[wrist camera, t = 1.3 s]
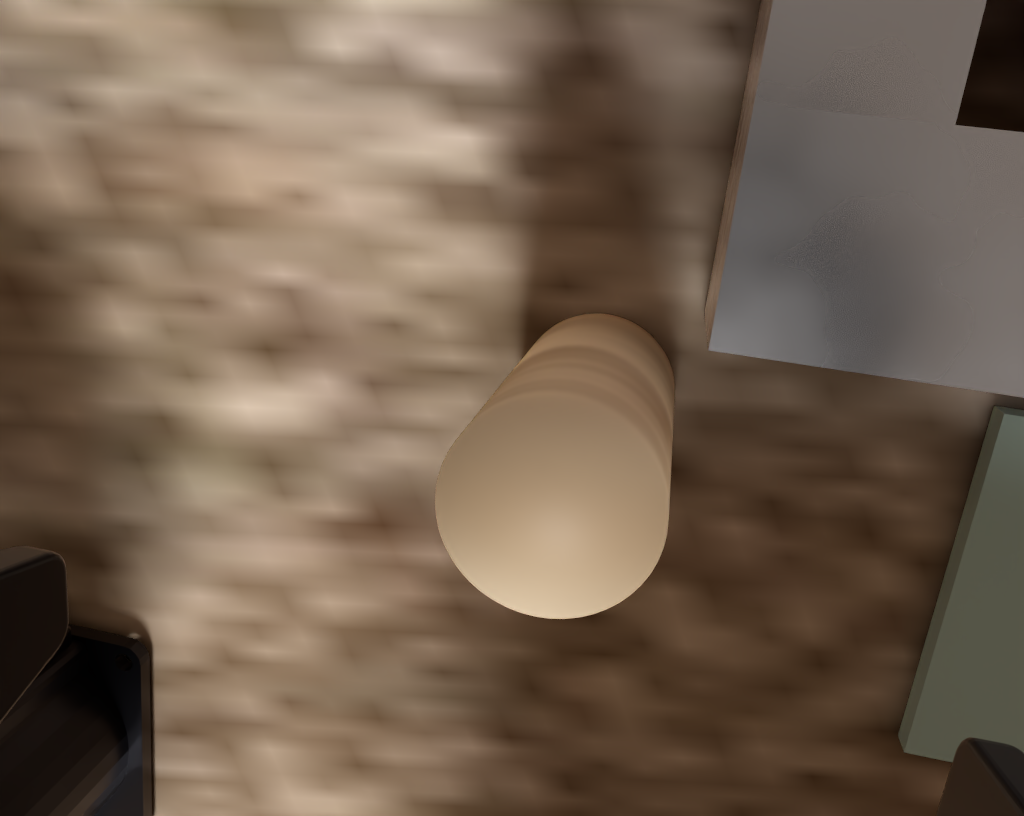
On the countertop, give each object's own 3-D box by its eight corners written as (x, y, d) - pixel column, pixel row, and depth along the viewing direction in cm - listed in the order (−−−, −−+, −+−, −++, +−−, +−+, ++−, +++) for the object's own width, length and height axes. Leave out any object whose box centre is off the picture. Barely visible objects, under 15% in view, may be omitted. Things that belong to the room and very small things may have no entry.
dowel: (660, 474, 19) (648, 639, 13) (512, 448, 20) (425, 594, 13) (687, 325, 18) (687, 421, 12) (529, 302, 19) (445, 381, 12)
